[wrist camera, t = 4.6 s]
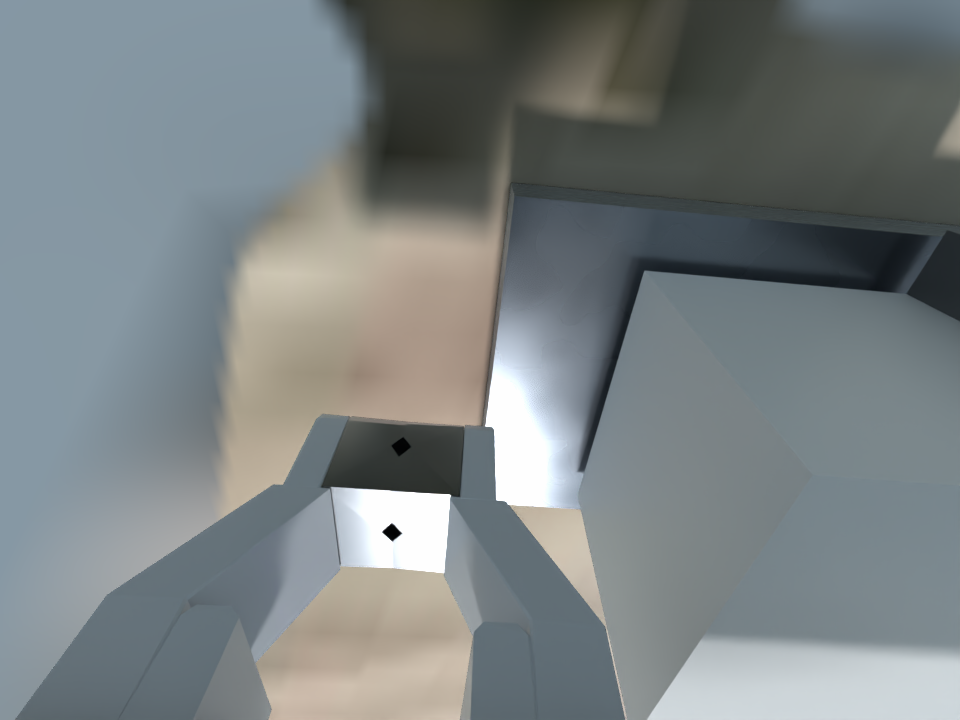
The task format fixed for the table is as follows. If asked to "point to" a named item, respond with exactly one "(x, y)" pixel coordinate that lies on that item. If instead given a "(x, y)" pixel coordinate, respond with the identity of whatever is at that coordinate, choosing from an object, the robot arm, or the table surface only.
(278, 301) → the table surface
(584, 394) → the rail
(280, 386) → the table surface
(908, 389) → the white cube on plate
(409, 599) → the table surface
